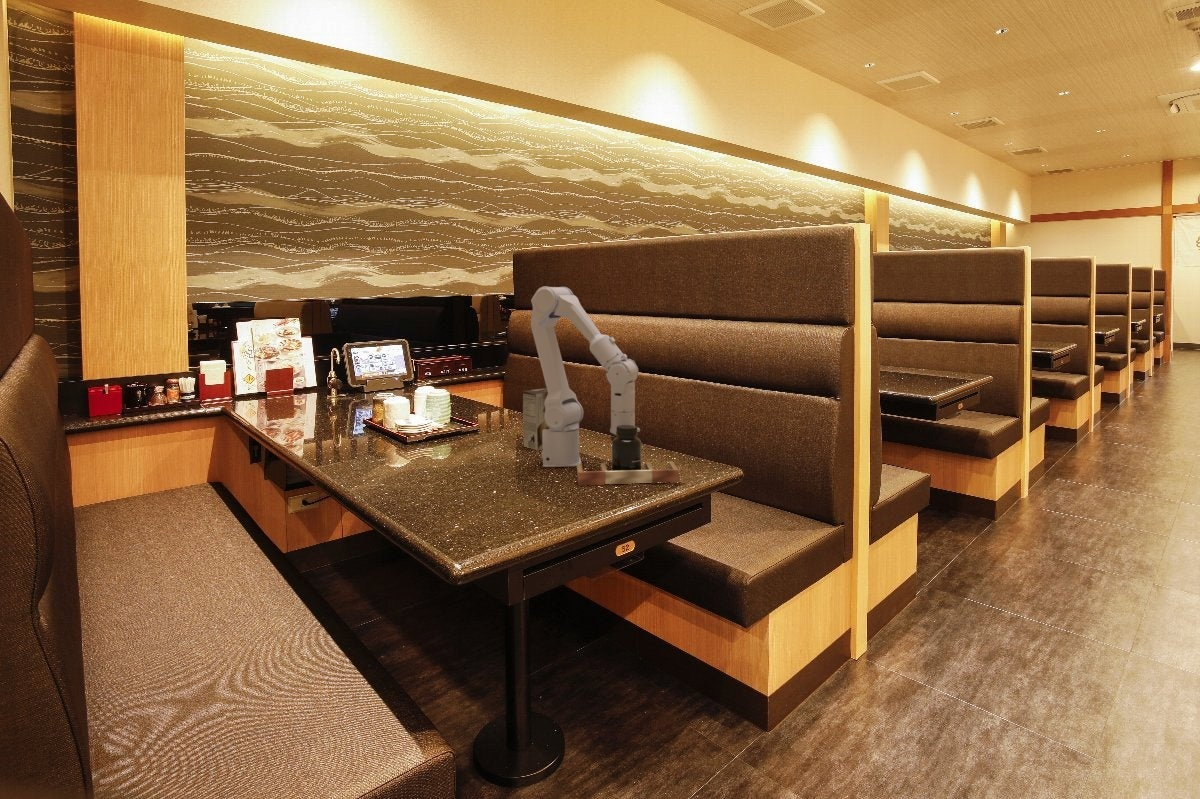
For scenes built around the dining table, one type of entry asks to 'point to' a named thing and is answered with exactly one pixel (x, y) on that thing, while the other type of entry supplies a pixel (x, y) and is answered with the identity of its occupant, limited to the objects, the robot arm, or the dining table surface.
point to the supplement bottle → (626, 449)
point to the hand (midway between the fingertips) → (623, 466)
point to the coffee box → (534, 417)
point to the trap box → (627, 475)
